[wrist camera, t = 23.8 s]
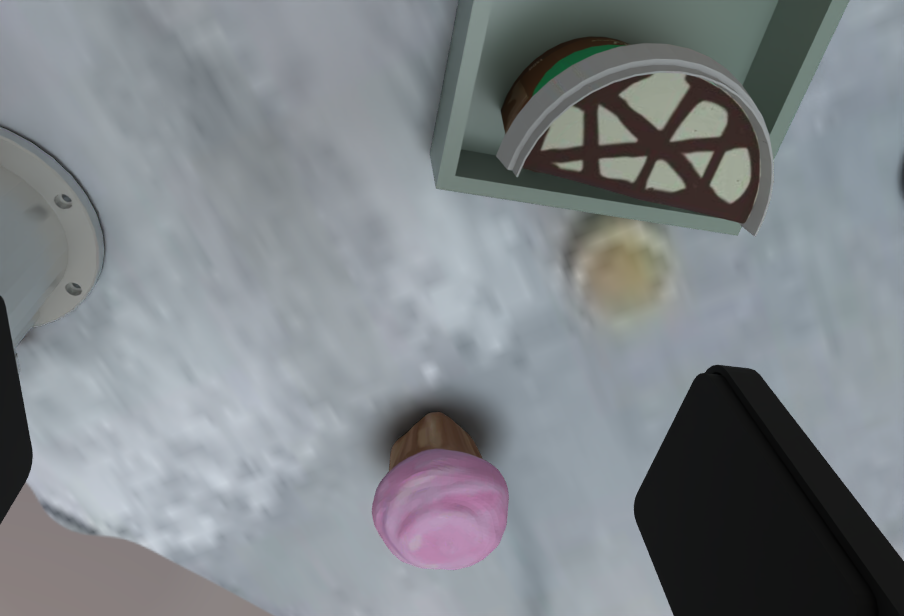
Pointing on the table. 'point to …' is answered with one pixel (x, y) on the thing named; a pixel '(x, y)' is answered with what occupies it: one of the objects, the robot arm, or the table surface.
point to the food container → (642, 127)
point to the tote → (634, 22)
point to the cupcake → (440, 498)
